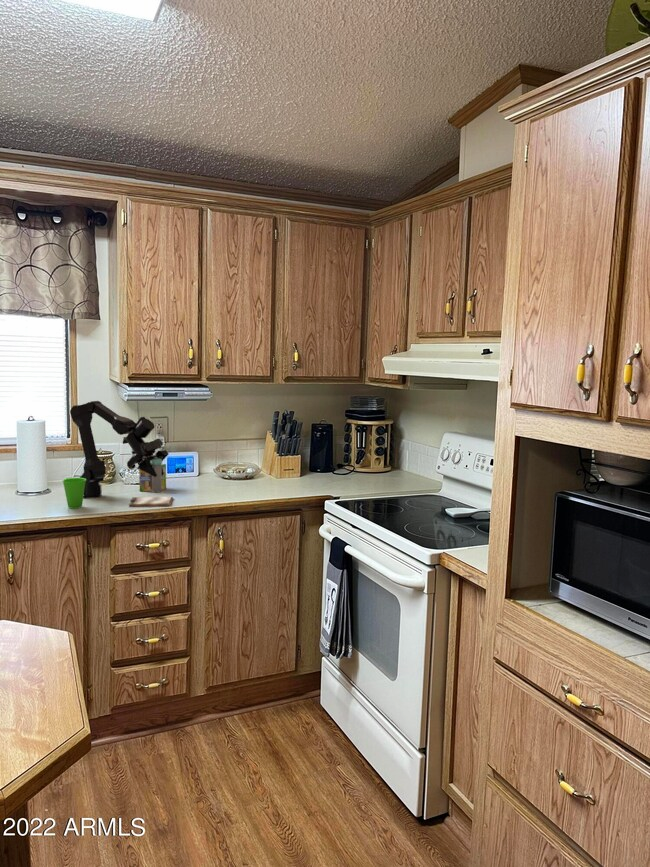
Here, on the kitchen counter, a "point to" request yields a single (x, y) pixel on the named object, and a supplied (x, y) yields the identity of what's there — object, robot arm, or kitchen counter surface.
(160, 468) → the marker
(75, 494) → the cup
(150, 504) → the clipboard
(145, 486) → the chalk box
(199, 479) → the kitchen counter surface
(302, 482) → the kitchen counter surface
